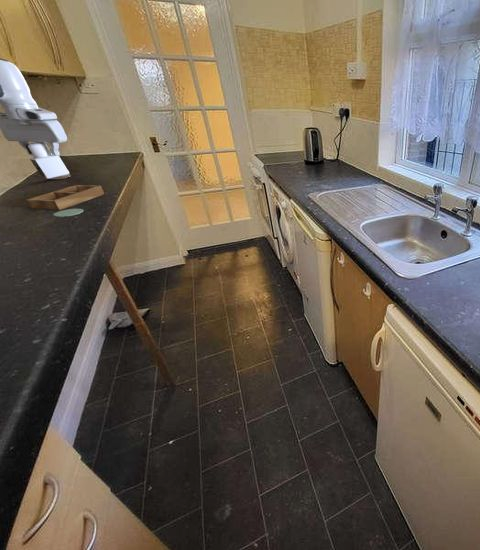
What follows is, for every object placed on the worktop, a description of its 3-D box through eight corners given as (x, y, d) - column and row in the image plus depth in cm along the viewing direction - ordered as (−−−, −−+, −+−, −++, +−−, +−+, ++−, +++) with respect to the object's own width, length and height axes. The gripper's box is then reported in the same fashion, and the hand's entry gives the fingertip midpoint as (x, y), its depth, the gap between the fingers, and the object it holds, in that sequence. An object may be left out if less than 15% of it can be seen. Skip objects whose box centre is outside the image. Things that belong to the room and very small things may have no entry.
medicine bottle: (42, 177, 115) (19, 144, 108) (64, 172, 120) (44, 140, 113) (47, 179, 112) (24, 145, 105) (70, 173, 116) (49, 141, 110)
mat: (46, 216, 113) (46, 215, 113) (67, 208, 121) (67, 208, 121) (69, 217, 113) (69, 216, 113) (89, 209, 121) (89, 208, 121)
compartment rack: (30, 209, 120) (25, 199, 117) (79, 193, 139) (75, 185, 137) (59, 210, 119) (54, 200, 117) (104, 194, 139) (100, 185, 137)
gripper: (-16, 112, 102) (8, 155, 109) (43, 114, 102) (63, 157, 109) (4, 112, 107) (25, 152, 114) (60, 113, 107) (78, 154, 114)
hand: (44, 154), depth 112 cm, fingers closed on medicine bottle, 7 cm apart
